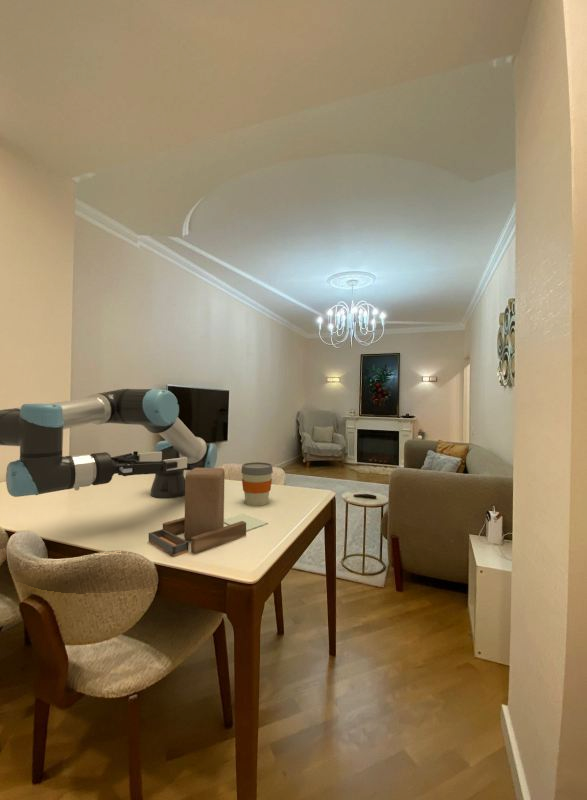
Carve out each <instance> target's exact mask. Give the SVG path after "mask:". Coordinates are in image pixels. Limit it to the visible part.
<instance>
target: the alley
mask: <svg viewBox="0 0 587 800" xmlns="http://www.w3.org/2000/svg"><path fill="white" fill-rule="evenodd" d="M162 529H164V530H166V531H168V532H170V533H172V534H174V535H176V536H177V535H180V534H184V529H185V516H184V517H180V518H176V519H174V520H169V521H165V522H163V523H162ZM246 536H247V532H246V522H244V521H240V522H237V523H234V524H231V525H225V526H224V527H222V528H219V529H216V530H213V531H210V532H207V533H203V534H200V535H197V536H194V537H191V541H190V552H191V553H192V554H194V555H198V554H199V553H203V552H205V551H208V550H211V549H213V548H216V547H219V546H221V545H224V544H227V543H229V542H232V541H235V540H237V539H240V538H244V537H246Z"/></svg>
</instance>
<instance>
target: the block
mask: <svg viewBox="0 0 587 800" xmlns="http://www.w3.org/2000/svg"><path fill="white" fill-rule="evenodd" d="M225 475H226V474H225V469H224V468H223V467H214V468H194V469H193V470H189V472H188V473H186V474H185V475H184V477H185V495H184V517H185V529H184V533H183V534H184V536H183V537H184V540H185V541H187V542H191V537H194V536H197V535H200V534H203V533H207V532H210V531H213V530H216V529H219V528H222V527H225V526H224V525H225V524H224V519H225Z"/></svg>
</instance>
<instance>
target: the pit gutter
mask: <svg viewBox="0 0 587 800" xmlns="http://www.w3.org/2000/svg"><path fill="white" fill-rule="evenodd" d="M189 542H190V541H185V539H183V538H181V537H179V536H177V535H174V534H172V533H170V532H168V531H166V530H164V529H163V528H162V529H158V530H155V531H151V532H148V543H150V544H151V545H153V546H155V547H157V548H159V549H160V550H162V551H163V552H165V553H167V555H170V556H171V557H178V556H179V555H183V554H186V553H188V552H189V550H190V549H189V548H190V546H189Z"/></svg>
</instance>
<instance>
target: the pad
mask: <svg viewBox="0 0 587 800" xmlns="http://www.w3.org/2000/svg"><path fill="white" fill-rule="evenodd" d="M240 521H244V522H246V533H247V532H249V531H252V530H255V529H258V528H260V527H264V526H266V525H268V524H269V523H268V521H264V520H261V519H258V518H256V517H253V516H250V515H249V514H248V515H247V514H245V513H240V514H237V515H235V516H234V515H233V516H231V517H228V518H227V517H226V518H224V525H226V526H228V525H231V524H234V523H237V522H240Z"/></svg>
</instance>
